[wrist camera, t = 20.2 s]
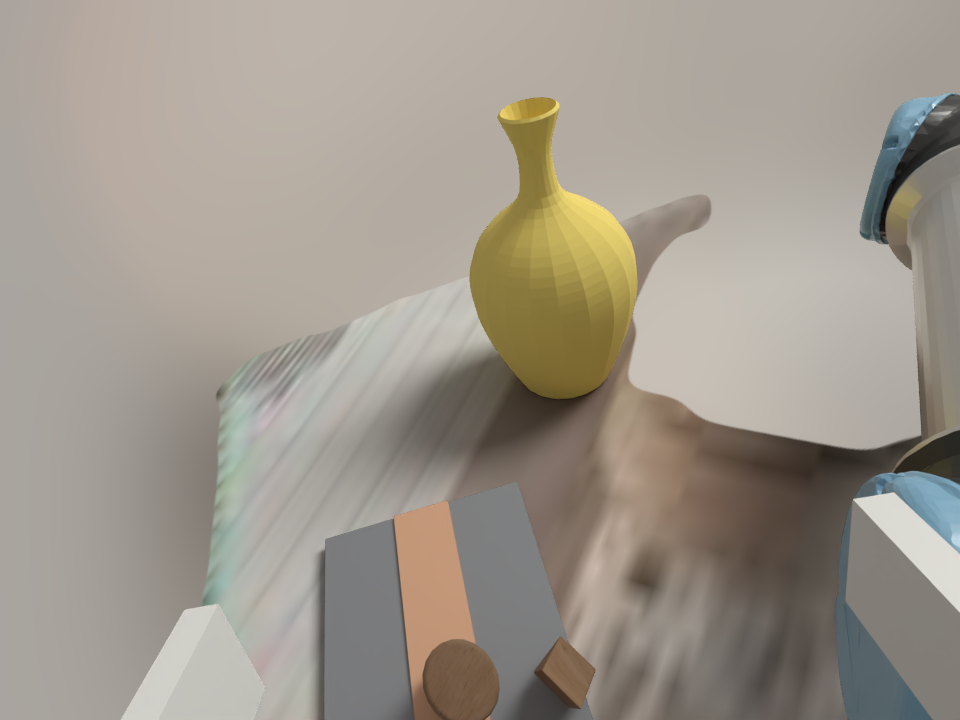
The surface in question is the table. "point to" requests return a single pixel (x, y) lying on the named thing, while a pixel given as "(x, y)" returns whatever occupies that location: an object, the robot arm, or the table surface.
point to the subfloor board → (439, 609)
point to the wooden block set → (495, 678)
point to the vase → (552, 271)
